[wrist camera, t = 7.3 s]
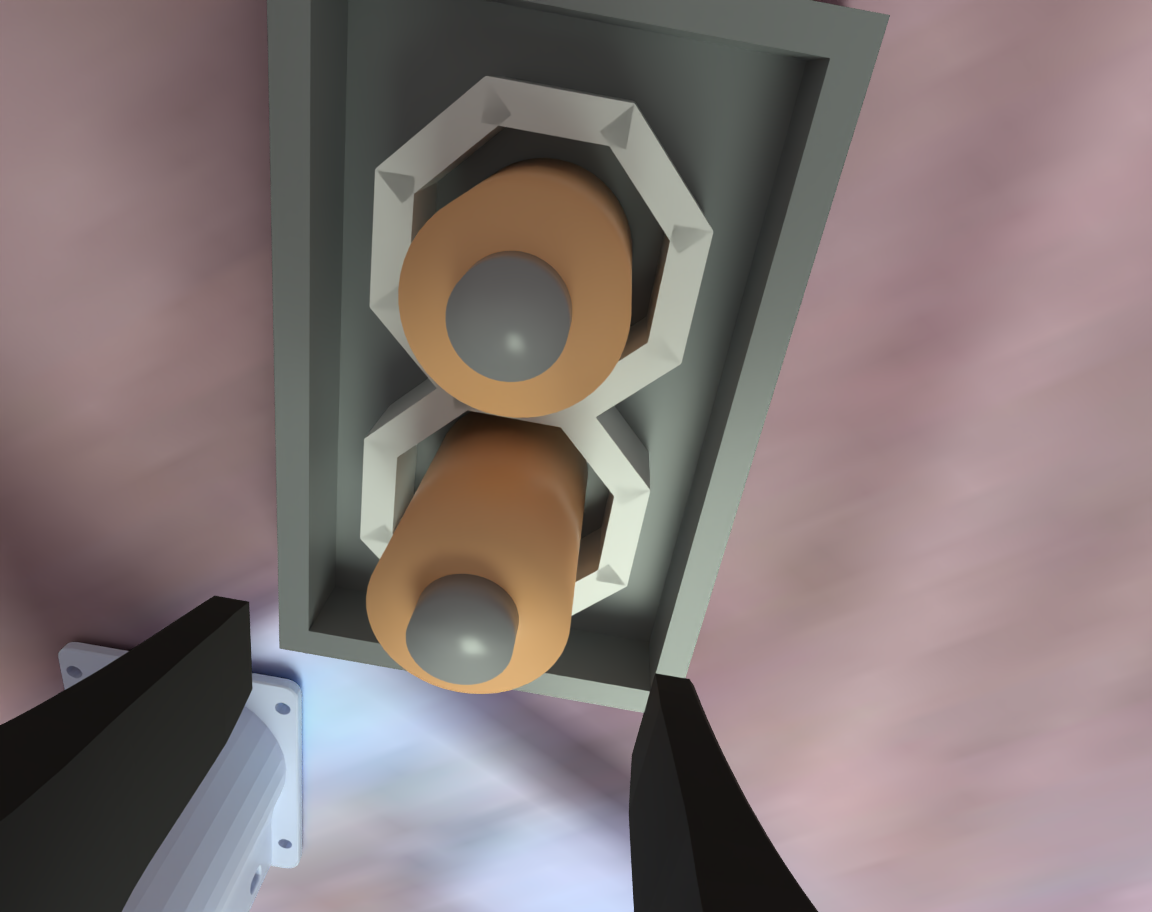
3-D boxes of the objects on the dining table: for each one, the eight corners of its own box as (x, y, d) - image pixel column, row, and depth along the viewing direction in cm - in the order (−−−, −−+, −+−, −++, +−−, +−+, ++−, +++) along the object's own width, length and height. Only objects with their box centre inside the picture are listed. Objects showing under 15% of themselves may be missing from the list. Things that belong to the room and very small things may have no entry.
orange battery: (573, 547, 21) (549, 739, 15) (432, 521, 21) (349, 703, 15) (600, 418, 19) (584, 576, 13) (445, 389, 19) (355, 534, 13)
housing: (668, 645, 23) (680, 842, 17) (320, 583, 23) (209, 760, 17) (846, 26, 16) (980, -9, 10) (328, -72, 16) (133, -168, 10)
